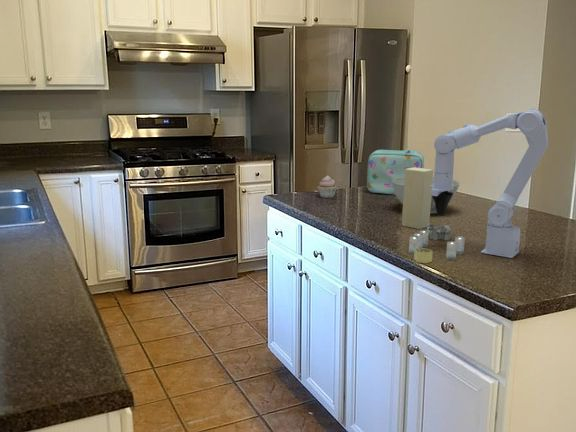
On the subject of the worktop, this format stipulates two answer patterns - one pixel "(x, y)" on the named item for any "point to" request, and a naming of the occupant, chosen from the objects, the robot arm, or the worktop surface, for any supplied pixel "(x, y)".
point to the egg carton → (438, 232)
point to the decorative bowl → (399, 191)
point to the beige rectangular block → (417, 197)
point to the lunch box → (390, 168)
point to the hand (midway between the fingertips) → (440, 214)
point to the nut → (423, 255)
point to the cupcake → (327, 187)
